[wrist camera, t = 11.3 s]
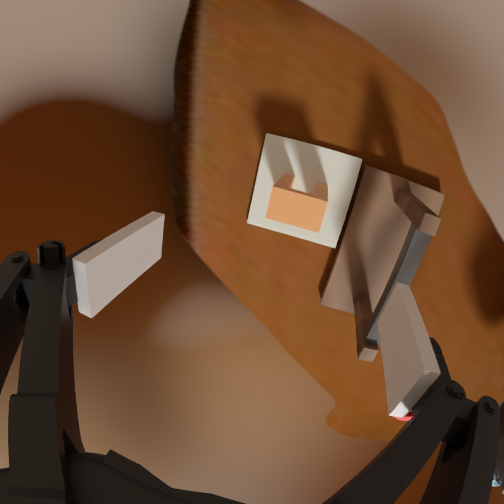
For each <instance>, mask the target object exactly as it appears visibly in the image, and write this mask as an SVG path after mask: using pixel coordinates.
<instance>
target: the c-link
mask: <svg viewBox="0 0 504 504" xmlns="http://www.w3.org/2000/svg"><path fill="white" fill-rule="evenodd" d="M294 178H295V176H293V175H289V174H284V175H283V176H282V177H281V178H280V179H279V180H278V181H277V182H276V183H275V184H274V185H273V186H272V191H271V195H270V199H269V204H268V208H267V212H266V217H265V218H267V219H271V220H275V221H278V222H282V223H285V224H289V225H292V226H296V227H299V228H303V229H306V230H310V231H313V232H316V233H319V231H320V227H321V224H322V221H323V217H324V214H325V210H326V207H327V203H328V185H325V184H321V183H318V182H317V186H316V190H315V193H314V195H313V194H310V193H306V192H303V191H299V190H295V189H292V187H293V183H294Z"/></svg>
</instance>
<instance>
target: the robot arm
mask: <svg viewBox="0 0 504 504" xmlns="http://www.w3.org/2000/svg"><path fill="white" fill-rule="evenodd" d="M163 225H164V214H161V213H157V212H154V211H153V212H151V213H149V214H147V215H145V216H144V217H142V218H140V219H138V220H136V221H135V222H133V223H131V224H129V225H128V226H126V227H124V228H122V229H120V230H119V231H117V232H115V233H114V234H112V235H110V236H108V237H107V238H105V239H101V240H97V241H94V242H92V243H90V244H88V245H86V247H83V248H81V249H80V250H78V251H77V252H75V253H73V254H72V255H70V256H68V257H67V258H66V256H65V246H64V244H63V243H62V242H60V241H54V240H53V241H46V242H43V243H41V244H40V245H39V246H38V247H37V253H38V260H39V264H35V263H31V262H30V256H29V254H28V253H27V252H23V251H17V252H13V253H12V254H10V255H8V256H7V257H6V258H5V259H4V261H3V262H2V263H1V264H0V394H1V391H2V388H3V385H4V382H5V380H6V377H7V374H8V372H9V369H10V366H11V364H12V362H13V359H14V357H15V354H16V352H17V349H18V347H19V345H20V343H21V340H22V338H23V336H24V338H23V345H22V352H21V360H20V369H19V381H18V391H17V394H12V395H11V397H10V400H9V416H8V419H9V420H8V445H9V446H8V447H9V468H3V469H0V504H245V503H241V502H238V501H234V500H231V499H227V498H224V497H221V496H217V495H214V494H210V493H201V492H194V491H187V490H181V489H175V488H171V487H169V486H168V485H167V484H165V483H164V482H162V481H161V480H160V479H158V478H157V477H156V476H154V475H153V474H151V473H150V472H149V471H148V470H146V469H145V468H144V467H142V466H141V465H140V464H137V463H135V462H133V461H131V460H129V459H128V458H126V457H124V456H122V455H120V454H118V453H116V452H114V451H112V450H111V449H110V451H109V452H108V453H107V455H103V454H97V453H88V452H85V449H84V447H83V443H82V440H81V436H80V429H79V422H78V413H77V405H76V394H75V380H74V361H73V308H72V306H73V305H74V304H75V303H76V302H77V301H78V307H79V312H80V313H82V314H84V315H86V316H88V317H90V318H92V317H94V316H95V315H96V314H97V313H98V312H99V311H100V310H101V309H102V308H103V307H105V306H106V305H107V304H108V303H109V302H110V301H111V300H113V299H114V298H115V297H116V296H117V295H118V294H119V293H120V292H122V291H123V290H124V289H125V288H126V287H127V286H128V285H130V284H131V283H132V282H133V281H134V280H135V279H137V278H138V277H139V276H140V275H141V274H142V273H144V272H145V271H146V270H147V269H148V268H149V267H151V266H152V265H153V264H154V263H155V262H156V261H158V260H159V259H160V258H161V251H162V238H163ZM377 326H378V332H379V338H380V344H381V351H382V358H383V365H384V373H385V381H386V390H387V400H388V411H389V416H395V417H403V418H404V417H405V416H406V415H407V414H408V413H409V412H410V411H411V409H412V412H413V417H412V418H411V419H410V420H409V421H408V422H407V424H406V425H405V426H404V427H403V428H402V429H401V430H400V432H399V433H398V434H397V435H396V436H395V437H394V438H393V439H392V440H391V441H390V443H389V444H388V445H387V446H386V447H385V448H384V449H383V450H382V451H381V452H380V453H379V454H378V455H377V456H376V457H375V458H374V459H373V460H372V461H371V462H370V463H369V464H368V465H367V466H366V467H364V468H363V469H362V470H361V471H360V472H359V473H358V474H357V475H356V476H355V477H353V478H352V479H351V480H350V481H349V482H348V483H347V484H345V485H344V486H343V487H342V488H341V489H339V490H338V491H337V492H336V493H335V494H333V495H332V496H331V497H330V498H328V499H327V500H326V501H324V502H323V503H322V504H393V503H394V502H395V501H396V500H397V499H398V498H399V497H400V495H401V494H402V493H403V492H404V491H405V489H406V488H407V487H408V486H409V485H410V483H411V482H412V481H413V480H414V478H415V477H416V475H417V474H418V473H419V472H420V470H421V469H422V468H423V466H424V465H425V464H426V462H427V461H428V459H429V458H430V457H431V455H432V454H433V452H434V451H435V449H436V448H437V446H438V445H439V443H440V442H441V441H442V444H441V448H440V451H439V454H438V457H437V460H436V463H435V466H434V468H433V471H432V474H431V477H430V480H429V482H428V484H427V487H426V489H425V492H424V494H423V497H422V499H421V501H420V503H419V504H488V501H489V497H490V493H491V488H492V486H500V485H501V488H502V492H503V494H504V401H503V402H502V403H501V404H500V406H499V405H498V403H497V402H496V400H495V399H493V398H491V397H489V396H483V397H481V398H480V399H479V401H478V402H477V403H476V402H474V401H472V400H469V399H467V398H466V394H465V391H464V389H463V387H462V386H461V385H460V384H459V383H457V382H456V381H454V380H451V377H450V374H449V371H448V368H447V365H446V362H445V359H444V356H443V355H442V351H441V348H440V346H439V345H438V343H437V342H436V341H435V339H434V338H430V337H429V336H428V333H427V331H426V328H425V325H424V322H423V320H422V317H421V315H420V312H419V309H418V307H417V304H416V302H415V299H414V297H413V294H412V292H411V290H410V287H409V286H408V285H405V284H401V283H398V282H397V283H396V285H395V287H394V289H393V291H392V294H391V296H390V298H389V300H388V302H387V304H386V306H385V308H384V310H383V312H382V314H381V316H380V318H379V320H378V322H377Z"/></svg>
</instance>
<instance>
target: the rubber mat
mask: <svg viewBox="0 0 504 504" xmlns="http://www.w3.org/2000/svg"><path fill="white" fill-rule="evenodd" d="M361 163H362V159H361V158H358V157H355V156H351V155H348V154H345V153H342V152H338V151H335V150H331V149H328V148H324V147H321V146H317V145H313V144H310V143H306V142H302V141H298V140H294V139H290V138H286V137H282V136H277V135H273V134H269V133H266V137H265V141H264V146H263V150H262V155H261V160H260V164H259V169H258V174H257V178H256V183H255V188H254V192H253V197H252V202H251V207H250V211H249V216H248V221H247V223H249V224H252V225H256V226H259V227H263V228H267V229H270V230H274V231H277V232H281V233H284V234H288V235H291V236H295V237H298V238H302V239H305V240H308V241H312V242H315V243H319V244H322V245H325V246H329V247H332V248H336V245H337V242H338V239H339V236H340V233H341V230H342V226H343V223H344V220H345V217H346V214H347V211H348V207H349V204H350V201H351V198H352V194H353V191H354V188H355V184H356V181H357V177H358V174H359V170H360V167H361ZM284 174H289V175H293V176H295V178H294V183H293V187H292V189H295V190H299V191H303V192H306V193H310V194H313V195H314V193H315V190H316V186H317V182H318V183H321V184H325V185H328V203H327V207H326V210H325V214H324V217H323V221H322V224H321V227H320V231H319V233H316V232H313V231H310V230H306V229H303V228H299V227H296V226H292V225H289V224H285V223H282V222H278V221H275V220H271V219H267V218H265V217H266V212H267V208H268V204H269V199H270V195H271V191H272V186H273V185H274V184H275V183H276V182H277V181H278V180H279V179H280V178H281V177H282V176H283V175H284Z"/></svg>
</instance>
